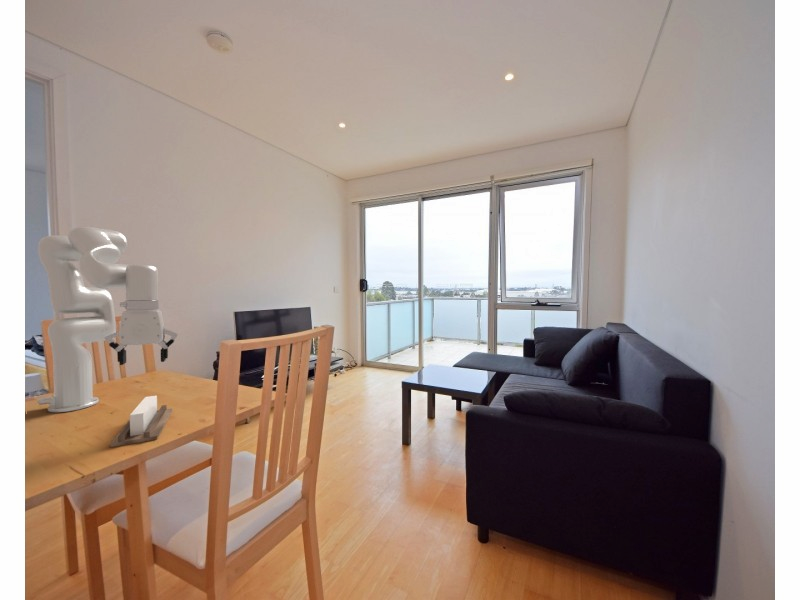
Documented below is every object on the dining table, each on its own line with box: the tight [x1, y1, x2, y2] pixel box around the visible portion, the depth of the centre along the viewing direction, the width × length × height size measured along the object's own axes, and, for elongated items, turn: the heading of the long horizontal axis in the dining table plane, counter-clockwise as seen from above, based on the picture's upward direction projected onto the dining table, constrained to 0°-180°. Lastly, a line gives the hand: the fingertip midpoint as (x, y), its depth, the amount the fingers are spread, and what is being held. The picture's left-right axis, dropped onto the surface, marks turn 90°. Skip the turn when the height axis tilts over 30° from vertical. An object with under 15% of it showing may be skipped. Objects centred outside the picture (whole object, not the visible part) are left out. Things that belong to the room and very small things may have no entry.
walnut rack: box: [109, 404, 173, 448], centre depth 95 cm, size 10×22×2 cm, turn 27°
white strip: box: [129, 395, 158, 436], centre depth 95 cm, size 3×16×6 cm, turn 27°
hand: (143, 362), depth 94 cm, fingers open, 9 cm apart
